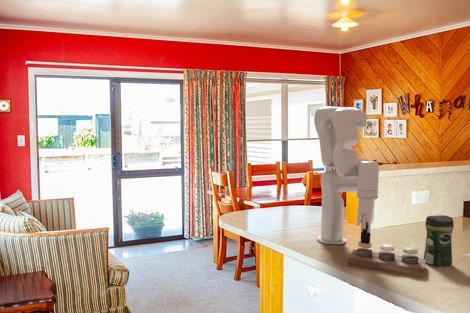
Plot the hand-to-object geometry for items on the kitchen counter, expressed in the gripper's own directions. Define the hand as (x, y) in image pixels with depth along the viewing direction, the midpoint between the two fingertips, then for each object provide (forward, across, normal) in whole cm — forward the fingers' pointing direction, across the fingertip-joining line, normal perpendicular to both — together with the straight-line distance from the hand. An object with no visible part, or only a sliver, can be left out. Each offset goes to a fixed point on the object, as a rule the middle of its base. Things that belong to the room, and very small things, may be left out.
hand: (365, 242), depth 166 cm
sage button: (+2, 0, +16) cm, 16 cm away
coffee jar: (+8, -13, +25) cm, 29 cm away
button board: (+8, 0, +8) cm, 11 cm away
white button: (+2, 0, +8) cm, 8 cm away
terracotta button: (+1, 0, 0) cm, 2 cm away
